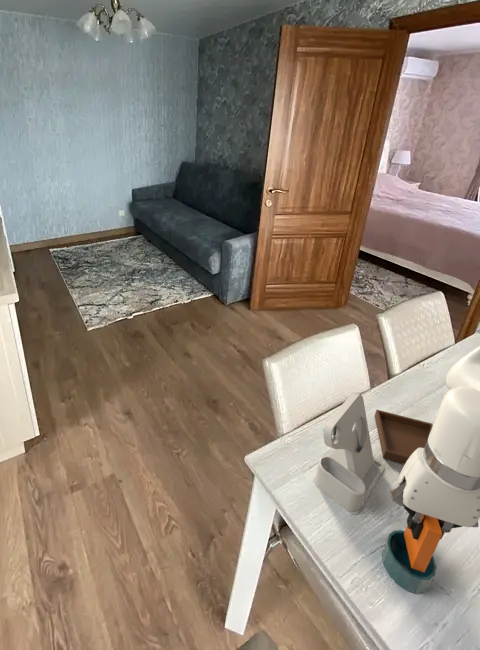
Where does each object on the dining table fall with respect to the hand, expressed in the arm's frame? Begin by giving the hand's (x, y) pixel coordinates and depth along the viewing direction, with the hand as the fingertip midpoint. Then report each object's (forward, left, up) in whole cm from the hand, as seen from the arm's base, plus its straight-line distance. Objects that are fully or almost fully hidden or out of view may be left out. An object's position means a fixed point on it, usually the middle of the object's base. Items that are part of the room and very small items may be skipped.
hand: (422, 532), depth 60 cm
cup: (0, 0, -11) cm, 11 cm away
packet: (0, 0, -6) cm, 6 cm away
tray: (-7, -30, -11) cm, 33 cm away
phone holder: (+8, -16, -11) cm, 21 cm away
